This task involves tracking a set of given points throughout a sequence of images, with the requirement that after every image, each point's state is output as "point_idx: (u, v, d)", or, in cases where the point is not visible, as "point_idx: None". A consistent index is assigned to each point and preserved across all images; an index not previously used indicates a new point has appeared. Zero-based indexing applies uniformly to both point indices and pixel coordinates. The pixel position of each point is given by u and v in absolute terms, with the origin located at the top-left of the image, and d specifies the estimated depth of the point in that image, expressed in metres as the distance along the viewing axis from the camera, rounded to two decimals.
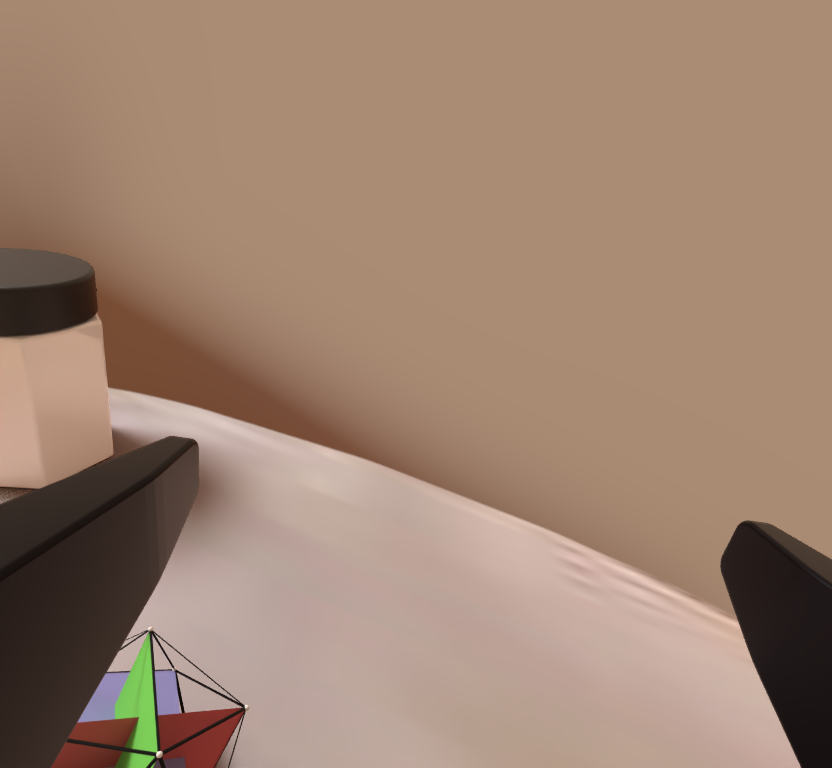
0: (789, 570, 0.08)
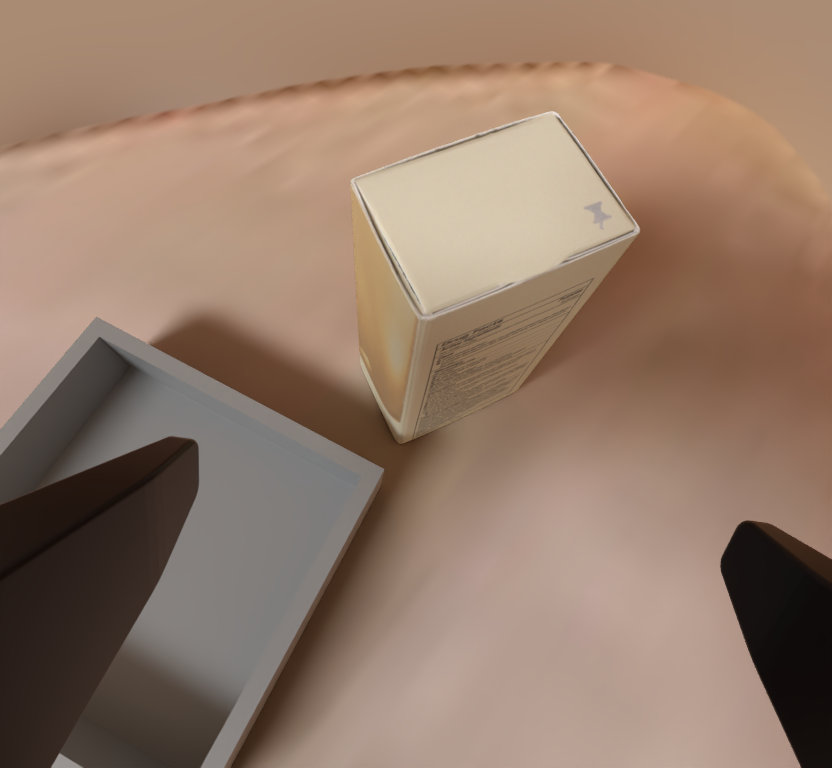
0: (789, 570, 0.08)
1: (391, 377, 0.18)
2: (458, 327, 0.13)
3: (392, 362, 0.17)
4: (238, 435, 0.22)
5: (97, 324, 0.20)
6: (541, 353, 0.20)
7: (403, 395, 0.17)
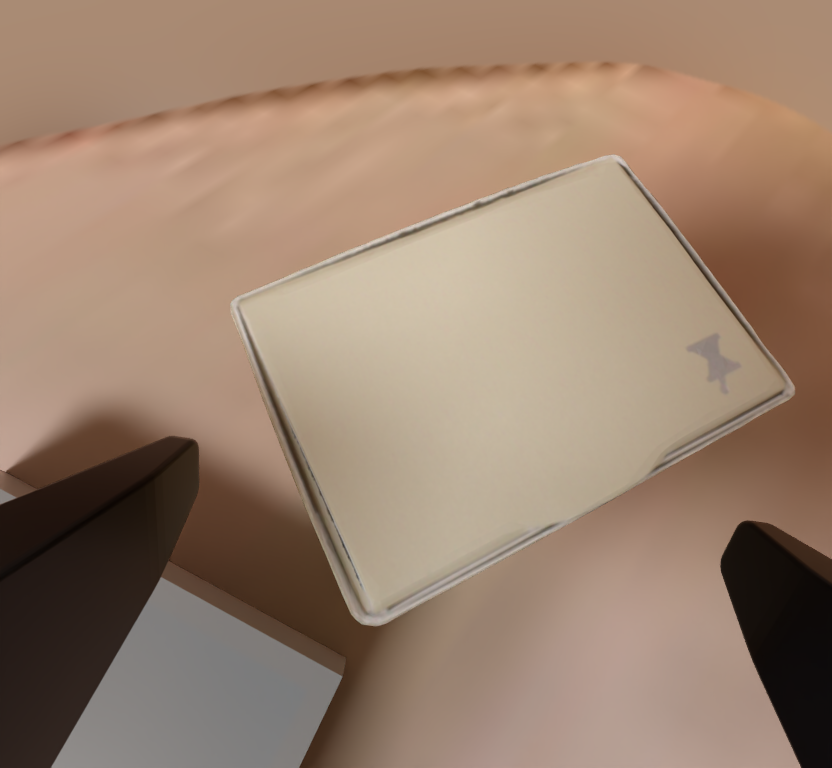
0: (790, 570, 0.08)
1: None
2: None
3: None
4: None
5: None
6: None
7: None
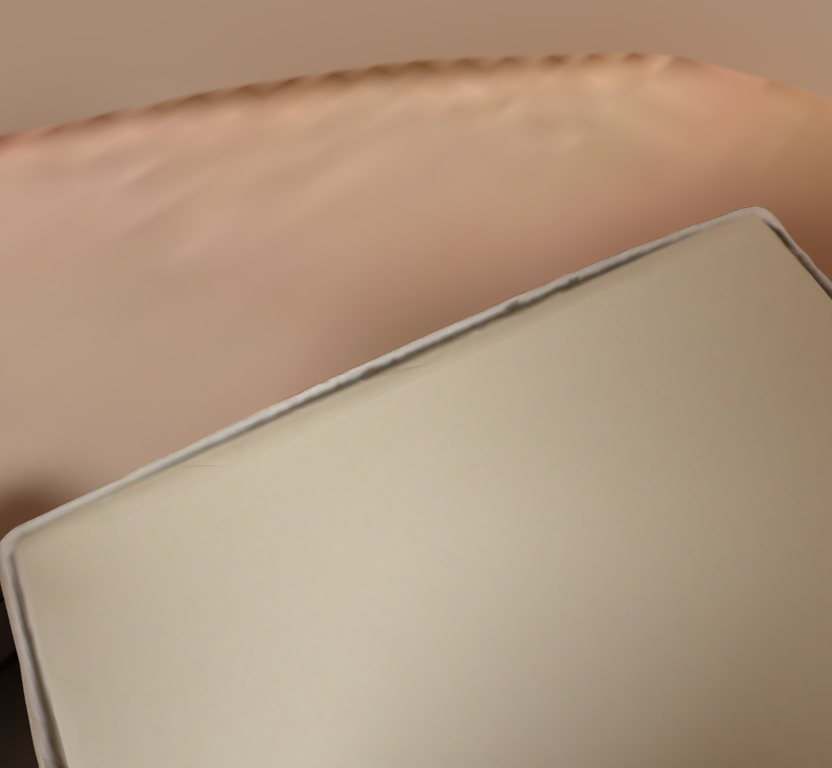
0: None
1: None
2: None
3: None
4: None
5: None
6: None
7: None
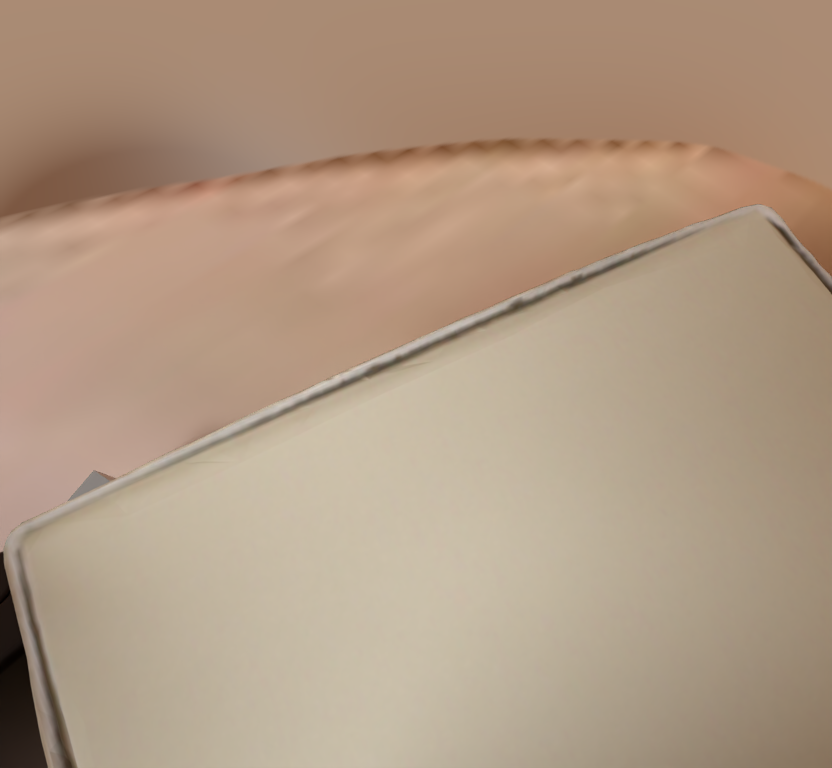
0: None
1: None
2: None
3: None
4: None
5: (94, 480, 0.17)
6: None
7: None
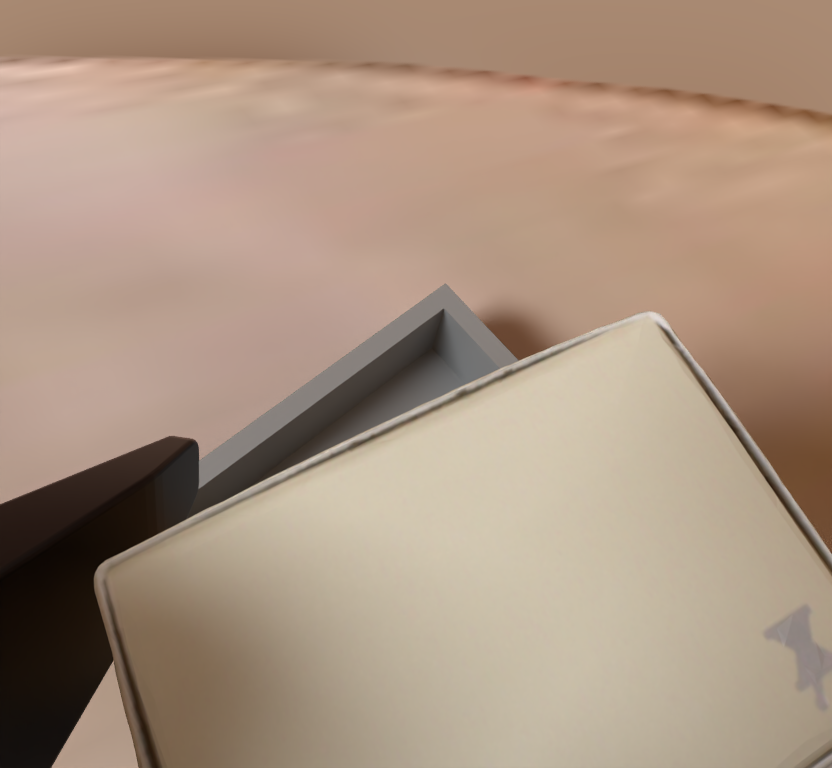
0: None
1: None
2: None
3: None
4: None
5: (444, 292, 0.16)
6: None
7: None
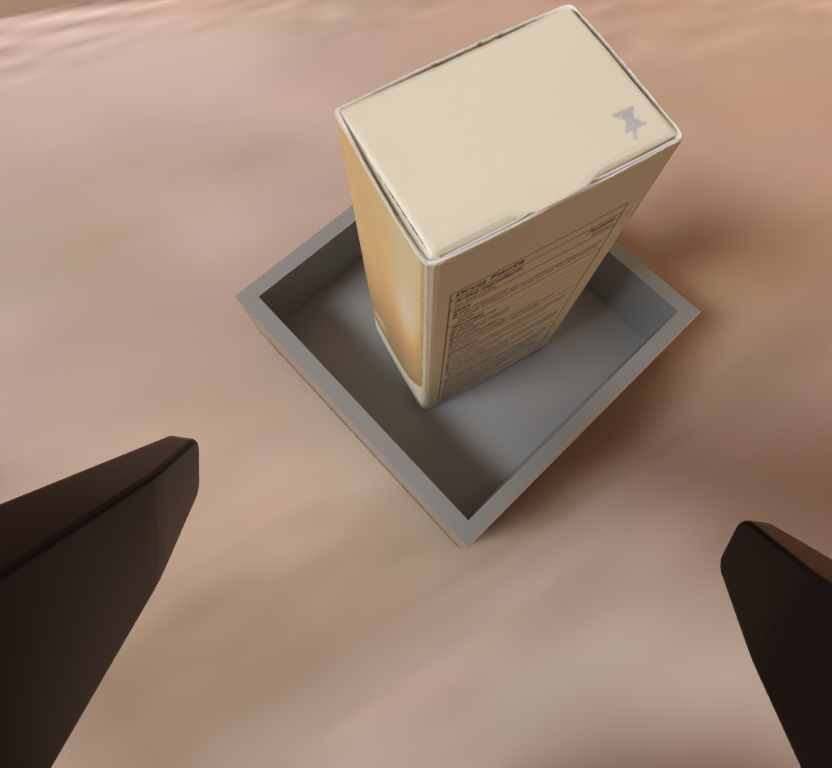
0: (789, 570, 0.08)
1: (406, 338, 0.16)
2: (472, 272, 0.11)
3: (405, 321, 0.15)
4: None
5: None
6: (572, 299, 0.18)
7: (420, 357, 0.16)
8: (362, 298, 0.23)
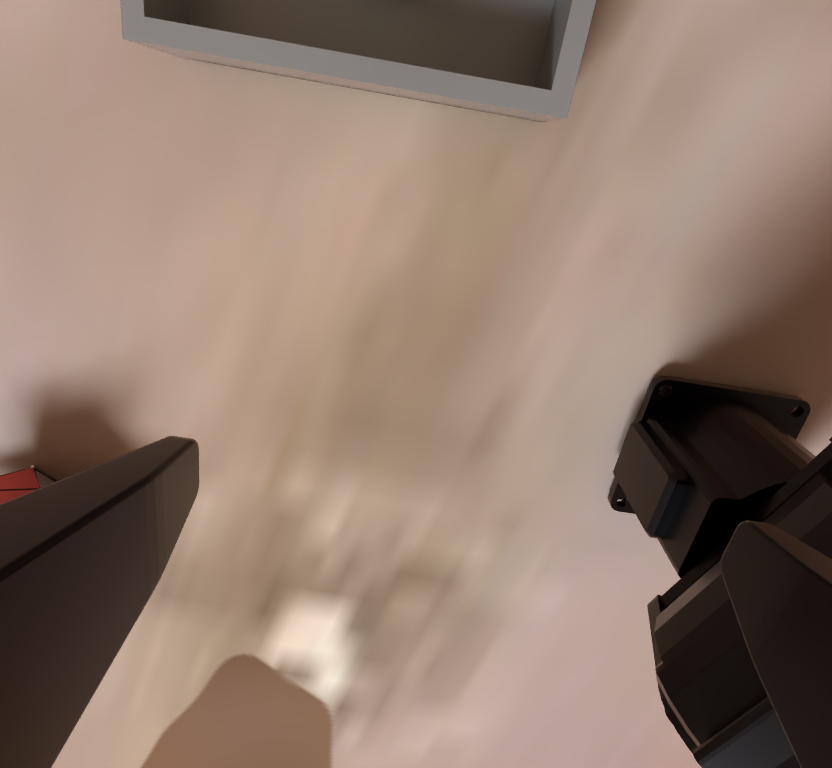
0: (790, 570, 0.08)
1: None
2: None
3: None
4: None
5: None
6: None
7: None
8: None
